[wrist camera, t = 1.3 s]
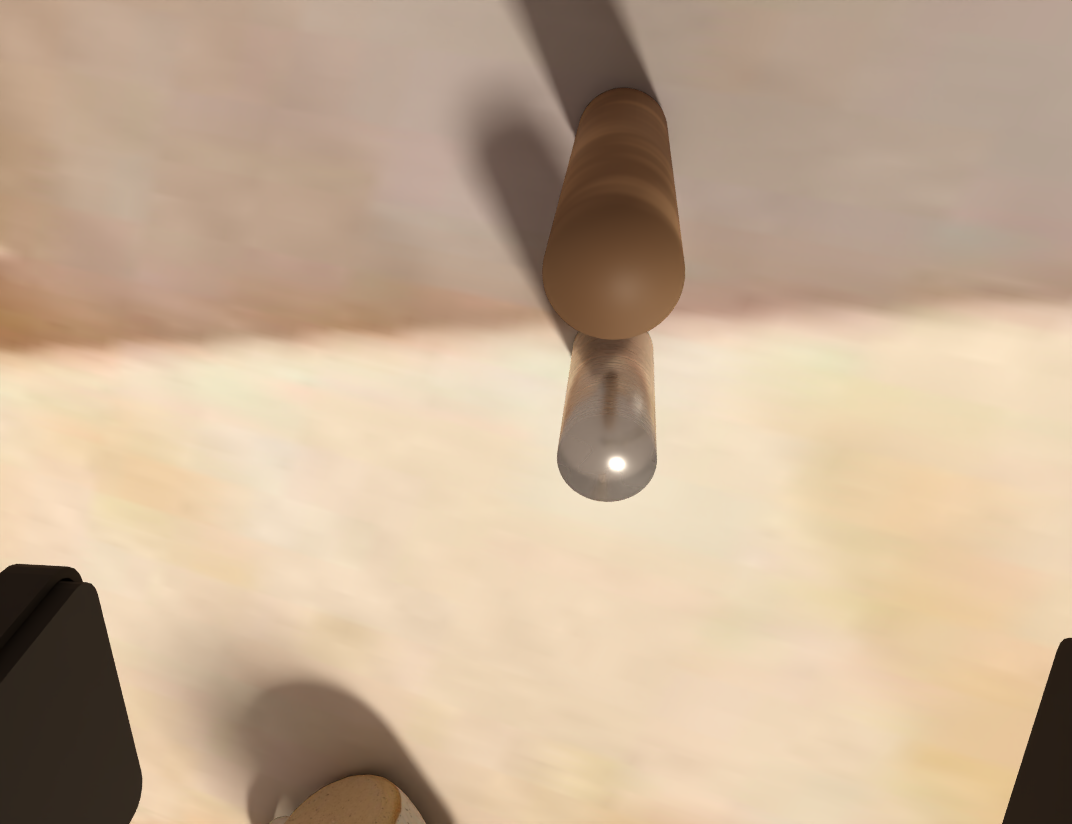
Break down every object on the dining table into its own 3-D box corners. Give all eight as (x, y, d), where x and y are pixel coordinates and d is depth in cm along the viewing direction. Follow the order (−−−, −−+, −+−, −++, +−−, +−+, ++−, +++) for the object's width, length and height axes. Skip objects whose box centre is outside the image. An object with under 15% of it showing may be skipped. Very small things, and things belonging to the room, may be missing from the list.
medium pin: (655, 316, 36) (660, 417, 29) (650, 390, 38) (653, 504, 30) (573, 312, 36) (557, 413, 29) (571, 386, 38) (556, 499, 31)
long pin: (670, 88, 32) (690, 206, 20) (664, 179, 34) (679, 342, 21) (579, 86, 33) (542, 201, 20) (577, 177, 34) (541, 337, 22)
